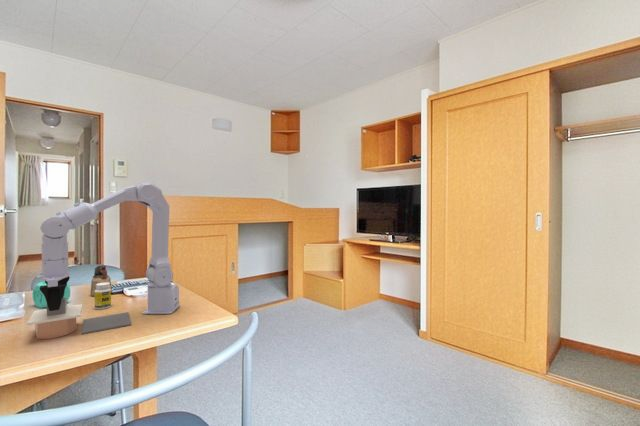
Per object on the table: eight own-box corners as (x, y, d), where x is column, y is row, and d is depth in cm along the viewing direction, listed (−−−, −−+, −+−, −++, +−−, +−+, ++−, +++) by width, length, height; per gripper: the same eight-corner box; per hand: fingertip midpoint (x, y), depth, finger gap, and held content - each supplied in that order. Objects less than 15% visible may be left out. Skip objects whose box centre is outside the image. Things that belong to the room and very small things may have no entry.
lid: (82, 305, 97) (82, 292, 96) (80, 316, 88) (80, 302, 87) (34, 312, 90) (34, 298, 90) (27, 325, 81) (27, 309, 81)
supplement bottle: (102, 310, 107) (102, 286, 107) (91, 309, 108) (91, 285, 108) (114, 305, 112) (114, 282, 112) (103, 304, 113) (103, 281, 113)
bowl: (82, 326, 94) (82, 309, 93) (60, 338, 85) (60, 320, 85) (52, 326, 93) (52, 310, 93) (27, 338, 84) (27, 320, 84)
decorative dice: (59, 299, 118) (58, 278, 118) (70, 302, 114) (70, 281, 114) (32, 306, 111) (31, 283, 110) (44, 309, 107) (43, 286, 107)
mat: (128, 313, 104) (128, 312, 104) (131, 325, 95) (131, 323, 94) (83, 321, 97) (83, 319, 97) (81, 334, 88) (81, 332, 88)
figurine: (108, 290, 130) (107, 262, 130) (115, 293, 126) (114, 264, 126) (87, 294, 124) (87, 264, 124) (94, 298, 120) (94, 267, 120)
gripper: (40, 256, 92) (41, 301, 92) (31, 264, 80) (32, 316, 80) (70, 254, 96) (71, 297, 96) (67, 262, 84) (67, 311, 85)
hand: (56, 306), depth 89 cm, fingers open, 7 cm apart
